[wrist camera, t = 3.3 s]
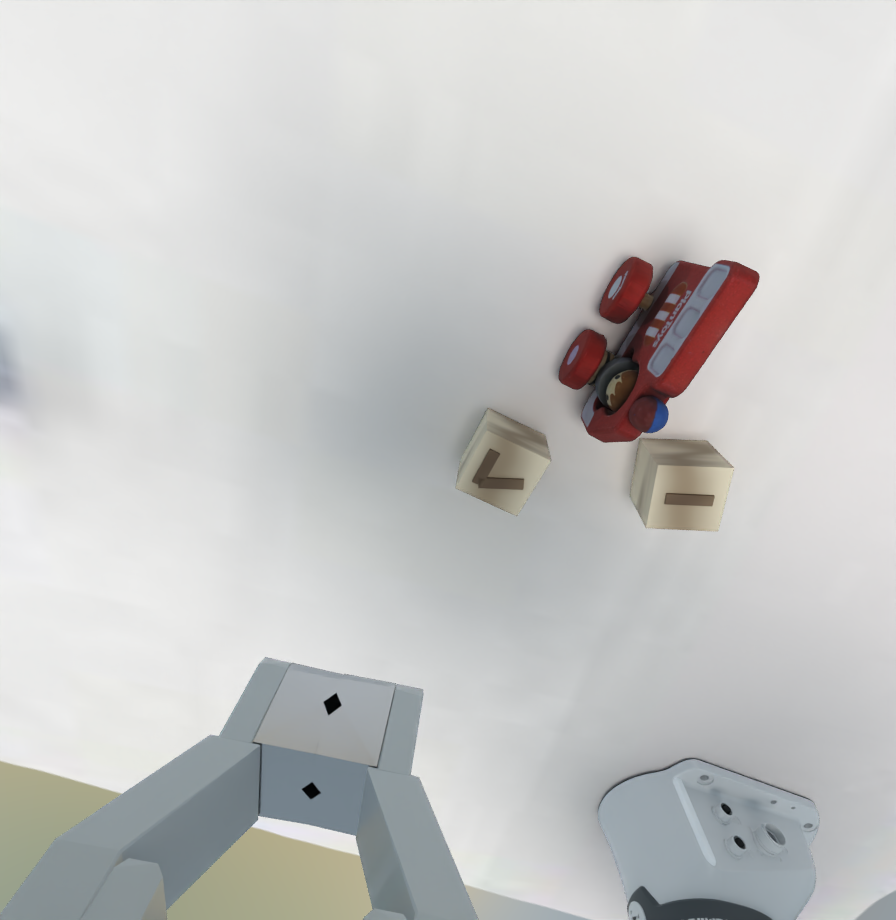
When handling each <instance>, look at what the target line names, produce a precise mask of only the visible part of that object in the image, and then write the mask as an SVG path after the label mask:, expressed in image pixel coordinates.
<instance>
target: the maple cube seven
mask: <svg viewBox="0 0 896 920" xmlns="http://www.w3.org/2000/svg"><path fill="white" fill-rule="evenodd" d="M550 462H551V458H550V453H549V449H548V445H547V441H546V436H545V435H543V434H541V433H539V432H537V431H535V430H533V429H531V428H529V427H527V426H525V425H523V424H520V423H518V422H516V421H514V420H512V419H510V418H508V417H506V416H504V415H502V414H500V413H498V412H495V411H493V410H491V409H489V408H488V409H487V411H486V412H485V414H484V416H483V418H482V420H481V422H480V424H479V426H478V428H477V429H476V431H475V433H474V435H473V437H472V439H471V441H470V443H469V445H468V446H467V448H466V450H465V452H464V454H463V456H462V458H461V460H460V464H459V470H458V476H457V482H456V489H458V490H460V491H463V492H465V493H467V494H469V495H471V496H473V497H476V498H478V499H480V500H482V501H484V502H487V503H489V504H491V505H493V506H495V507H497V508H500V509H502V510H504V511H506V512H508V513H511V514H513V515H515V516H518V514H519V512H520V511H521V509H522V508H523V506H524V504H525V503H526V501H527V499H528V498H529V496H530V495H531V493H532V491H533V490H534V488H535V487H536V485H537V483H538V482H539V480H540V478H541V477H542V475H543V474H544V472H545V470H546V469H547V467H548V466H549V464H550Z"/></svg>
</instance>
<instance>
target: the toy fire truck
mask: <svg viewBox="0 0 896 920" xmlns="http://www.w3.org/2000/svg"><path fill="white" fill-rule="evenodd" d="M652 277H653V267H652V265H651V264H649V263H647V262H645V261H643V260H641V259H639V258H637V257H631V258H629V259H628V260H627V261H626V262H624V263H623V265H622V266H621V267H620V268H619V270H618V271H617V272H616V274H615V275H614V277H613V278H612V280H611V282H610V283H609V285H608V287H607V289H606V291H605V293H604V296H603V298H602V301H601V304H600V309H599V310H600V315H601V316H602V317H603V318H605V319H607V320H609V321H611V322H613V323H616V324H620V323H622V322H624V321H626V320H627V319H628V318H629V317H630V316H631V315H632V314H633V313H634V311H635V310H636V309H637V308H638V307H640V308H642V311H641V314H640V316H639V318H638V320H637V321H636V323H635V325H634V326H633V328H632V330H631V331H630V333H629V334H628V336H627V338H626V339H625V341H624V342H623V344H622V346H621V347H620V349H619V351H618V353H617V354H616V356H615V357H614V354H612V353H610V352H608V351H606V347H607V340H606V338H605V337H604V335H601V334H599V333H597V332H595V331H593V330H590V329H589V330H585V331H583V332H582V333H581V334H580V335H579V336H578V337H577V338H576V340H575V341H574V342H573V344H572V345H571V347H570V349H569V350H568V352H567V354H566V356H565V358H564V360H563V363H562V365H561V368H560V371H559V380H560V382H561V383H562V384H564V385H566V386H568V387H570V388H572V389H576V390H578V389H581V388H582V387H583V386H585V385H586V384H587V383H588V384H589V385H593V386H595V390H594V391H593V393H592V395H591V396H590V398H589V400H588V401H587V403H586V404H585V406H584V408H583V410H582V413H581V419H582V421H583V423H584V426H585V428H586V430H587V432H588V434H589V435H591V436H593V437H595V438H596V439H598V440H600V441H602V442H604V443H607V442H628V441H629V442H630V441H633V440H635V439H636V438H637V437H639V436H640V435H641V433H642V432H644V433H653V432H657V431H658V430H660V429H662V428H663V427H664V426H665V424H666V423H667V420H668V415H669V414H668V409H667V407H666V405H665V404H666V403H667V401H668V400H669V398H674V397H677V396H678V395H680V394H681V393H682V392H684V390H685V389H686V388H687V387H688V385H689V384H690V382H691V381H692V380H693V378H694V377H695V375H696V374H697V373H698V371H699V370H700V368H701V367H702V365H703V364H704V363H705V361H706V360H707V358H708V357H709V355H710V354H711V352H712V351H713V349H714V348H715V346H716V345H717V343H718V342H719V341H720V340H721V338H722V337H723V335H724V334H725V332H726V331H727V330H728V328H729V326H730V325H731V324H732V322H733V321H734V319H735V318H736V316H737V315H738V314H739V312H740V311H741V309H742V308H743V307H744V305H745V304H746V302H747V301H748V300H749V298H750V297H751V295H752V294H753V292H754V291H755V289H756V288H757V285H758V282H759V274H758V273H757V272H756V271H754V270H752V269H750V268H748V267H746V266H744V265H742V264H740V263H737V262H733V261H727V260H721V261H718V262H717V263H715V264H714V265H713V266H712V267H706V266H702V265H698V264H693V263H689V262H685V261H677V262H676V263H674V264H673V265H672V266H671V267H670V268H669V270H668V271H667V272H666V274H665V276H664V277H663V279H662V280H661V282H660V284H659V286H658V287H657V289H656V290H655V291H654V292H653V293H652V294H651V295H649V294H647V293H646V292H647V291H648V289H649V287H650V284H651V281H652Z"/></svg>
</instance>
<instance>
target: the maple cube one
mask: <svg viewBox="0 0 896 920" xmlns="http://www.w3.org/2000/svg"><path fill="white" fill-rule="evenodd" d="M733 471H734V467H733V466H732V465H731V464H730V463H729V462H728V461H727V460H726V459H725V458H724V457H723V456H722V455H721V454H720V453H719V452H718V451H717V450H716V449H715V448H714V447H713V446H712V445H711V444H710V443H709V442H708V441H702V440H673V439H644V438H639V444H638V450H637V456H636V462H635V468H634V473H633V479H632V485H631V491H630V497H631V499H632V501H633V503H634V505H635V507H636V509H637V511H638V513H639V515H640V517H641V519H642V521H643V523H644V525H645V527H646V528H656V529H677V530H698V531H718V529H719V526H720V522H721V518H722V514H723V510H724V506H725V502H726V499H727V495H728V491H729V487H730V483H731V479H732V475H733Z"/></svg>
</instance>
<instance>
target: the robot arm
mask: <svg viewBox="0 0 896 920" xmlns="http://www.w3.org/2000/svg"><path fill="white" fill-rule="evenodd" d="M395 688H396V689H395ZM422 700H423V689H419V688H414V687H409V686H404V685H399V684H397V685H396V683H391V682H386V681H381V680H375V679H370V678H365V677H359V676H354V675H349V674H344V675H343V674H339V673H335V672H330V671H326V670H322V669H317V668H313V667H309V666H304V665H300V664H296V663H290V662H286V661H281V660H276V659H272V658H267V657H265V658H264V659H263V660H262V661H261V662H260V664H259V665H258V667H257V668H256V670H255V672H254V674H253V676H252V677H251V679H250V681H249V683H248V685H247V686H246V688H245V690H244V692H243V694H242V695H241V697H240V699H239V701H238V703H237V704H236V706H235V708H234V710H233V712H232V713H231V715H230V717H229V719H228V721H227V722H226V724H225V726H224V728H223V730H222V731H221V733H220V735H219V736H215V735H209V736H208V737H206V738H205V739H203V740H202V741H200V742H199V743H197V744H196V745H194V746H193V747H191V748H190V749H188V750H187V751H185V752H184V753H182V754H181V755H179V756H178V757H176V758H175V759H173V760H172V761H170V762H169V763H167V764H166V765H164V766H163V767H162V768H160V769H159V770H157V771H156V772H154V773H153V774H151V775H150V776H148V777H147V778H145V779H144V780H142V781H141V782H139V783H138V784H136V785H135V786H133V787H132V788H130V789H129V790H127V791H126V792H124V793H123V794H121V795H120V796H119V797H117V798H116V799H114V800H112V801H111V802H109V803H108V804H106V805H105V806H103V807H102V808H100V809H99V810H98V811H96V812H95V813H93V814H92V815H90V816H89V817H87V818H86V819H84V820H83V821H81V822H80V823H78V824H77V825H75V826H74V827H72V828H71V829H70V830H68V831H66V832H65V833H63V834H62V835H60V836H59V837H57V838H56V839H55V840H54V841H53V843H52V844H51V845H50V847H49V848H48V850H47V851H46V852H45V854H44V855H43V856H42V858H41V859H40V861H39V862H38V863H37V865H36V866H35V867H34V869H33V870H32V871H31V873H30V874H29V875H28V877H27V878H26V880H25V881H24V883H23V884H22V885H21V886H20V888H19V889H18V890H17V892H16V893H15V894H14V896H13V897H12V898H11V900H10V901H9V903H8V904H7V905H6V907H5V908H4V909H3V911H2V912H1V914H0V920H167V913H166V910H167V909H168V908H169V907H170V906H171V905H172V904H173V903H174V902H175V901H176V900H177V899H178V898H179V897H180V896H181V895H182V894H183V893H184V892H185V891H186V890H187V889H188V888H190V887H191V885H192V884H194V883H195V882H196V880H198V879H199V878H200V877H201V875H203V874H204V873H205V872H206V871H207V870H208V869H209V868H210V867H211V866H212V865H213V864H214V863H215V862H216V861H217V860H218V859H219V858H220V857H221V856H222V855H223V854H224V853H225V852H226V851H227V850H228V849H229V848H230V847H231V846H232V845H233V844H234V843H235V842H236V841H237V840H238V839H239V838H240V837H241V836H242V835H243V834H244V833H245V832H246V831H247V830H248V829H249V828H250V827H251V826H252V825H253V824H254V823H255V822H256V821H257V820H258V816H262V817H268V818H274V819H280V820H285V821H291V822H297V823H303V824H308V825H313V826H317V827H321V828H325V829H330V830H334V831H338V832H342V833H346V834H351V835H355V836H356V841H357V846H358V850H359V854H360V858H361V862H362V866H363V870H364V875H365V879H366V883H367V887H368V892H369V896H370V900H371V904H372V908H373V910H372V911H370V912H369V913H368V914H367V915H366V916H365V917H364V918H363V920H479V919H478V917H477V915H476V912H475V910H474V907H473V905H472V903H471V900H470V898H469V895H468V893H467V891H466V888H465V886H464V884H463V881H462V879H461V876H460V874H459V872H458V869H457V867H456V864H455V862H454V860H453V857H452V855H451V853H450V850H449V848H448V845H447V843H446V841H445V838H444V836H443V833H442V831H441V829H440V826H439V824H438V822H437V819H436V817H435V814H434V812H433V810H432V807H431V805H430V802H429V800H428V798H427V795H426V793H425V791H424V788H423V786H422V783H421V781H420V779H419V777H416V776H412V775H411V769H412V763H413V756H414V750H415V744H416V738H417V731H418V725H419V719H420V713H421V706H422ZM598 820H599V823H600V826H601V828H602V830H603V832H604V834H605V836H606V839H607V841H608V843H609V846H610V848H611V851H612V853H613V856H614V859H615V862H616V865H617V868H618V871H619V874H620V877H621V881H622V884H623V887H624V891H625V894H626V898H627V902H628V906H627V910H628V917H629V920H796V918H797V917H798V916H799V914H800V913H801V911H802V910H803V908H804V907H805V905H806V904H807V902H808V901H809V899H810V897H811V895H812V893H813V891H814V888H815V883H816V870H815V865H814V861H813V858H812V854H811V851H810V849H809V846H810V844H811V843H812V841H813V839H814V837H815V835H816V833H817V830H818V826H819V815H818V811H817V809H816V807H815V804H814V803H813V802H812V801H810V800H808V799H805V798H803V797H800V796H797V795H794V794H792V793H789V792H786V791H783V790H780V789H778V788H775V787H772V786H769V785H767V784H764V783H761V782H758V781H755V780H753V779H750V778H747V777H744V776H742V775H739V774H736V773H733V772H730V771H728V770H725V769H722V768H719V767H717V766H714V765H711V764H708V763H705V762H703V761H700V760H696V759H690V760H686V761H683V762H681V763H678V764H676V765H674V766H673V767H671V768H669V769H667V770H664V771H660V772H655V773H650V774H645V775H641V776H638V777H635V778H632V779H629V780H627V781H625V782H623V783H621V784H619V785H618V786H616V787H615V788H614V789H612V790H611V791H610V792H609V793H608V794H607V795H606V796H605V797H604V799H603V800H602V802H601V804H600V807H599V810H598Z"/></svg>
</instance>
